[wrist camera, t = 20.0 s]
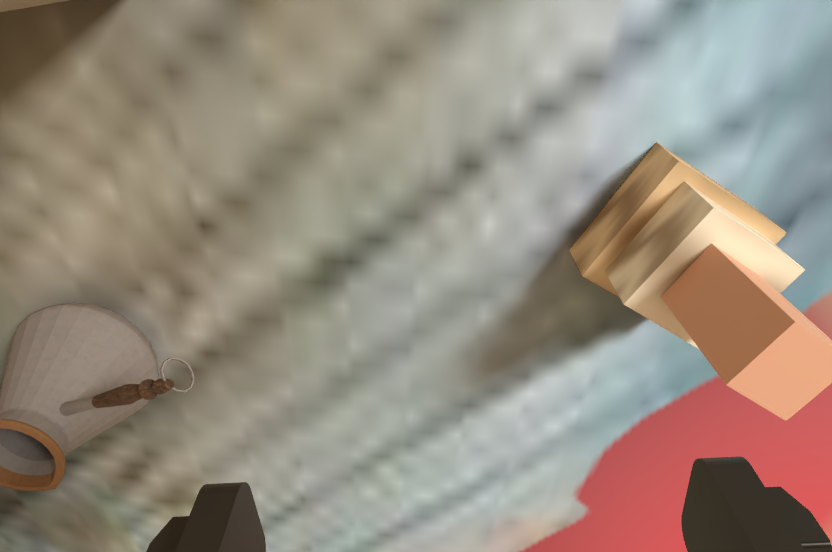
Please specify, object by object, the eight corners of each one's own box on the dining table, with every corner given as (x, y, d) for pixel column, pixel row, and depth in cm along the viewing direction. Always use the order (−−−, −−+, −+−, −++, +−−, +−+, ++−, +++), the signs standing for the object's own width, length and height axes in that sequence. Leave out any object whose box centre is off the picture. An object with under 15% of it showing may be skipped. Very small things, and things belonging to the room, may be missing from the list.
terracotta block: (710, 328, 40) (786, 420, 32) (660, 297, 38) (726, 384, 30) (762, 277, 38) (856, 362, 30) (711, 243, 37) (795, 321, 29)
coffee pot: (103, 414, 55) (6, 562, 42) (2, 326, 50) (-144, 462, 37) (288, 312, 49) (241, 446, 36) (193, 202, 45) (101, 311, 32)
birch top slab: (686, 320, 45) (711, 356, 41) (604, 271, 43) (623, 304, 39) (768, 238, 42) (805, 269, 38) (684, 181, 39) (713, 207, 36)
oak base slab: (663, 303, 49) (684, 334, 46) (567, 248, 47) (581, 276, 43) (754, 207, 45) (786, 232, 41) (654, 140, 43) (678, 161, 39)
